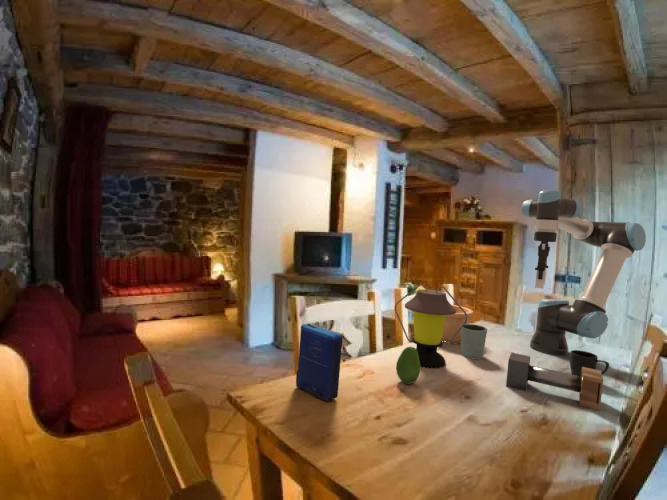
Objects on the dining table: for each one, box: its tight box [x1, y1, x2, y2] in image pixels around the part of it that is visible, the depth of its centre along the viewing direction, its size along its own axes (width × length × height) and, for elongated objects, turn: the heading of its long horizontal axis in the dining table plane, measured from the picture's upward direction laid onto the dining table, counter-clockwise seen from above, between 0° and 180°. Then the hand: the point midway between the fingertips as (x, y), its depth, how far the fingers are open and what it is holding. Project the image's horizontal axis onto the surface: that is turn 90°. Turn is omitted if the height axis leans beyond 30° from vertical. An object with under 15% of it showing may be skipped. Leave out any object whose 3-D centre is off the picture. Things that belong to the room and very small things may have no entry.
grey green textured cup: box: [460, 323, 488, 360], centre depth 158 cm, size 10×10×12 cm
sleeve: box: [505, 352, 531, 392], centre depth 130 cm, size 8×6×9 cm
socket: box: [578, 367, 604, 411], centre depth 120 cm, size 9×5×10 cm, turn 149°
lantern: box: [394, 282, 467, 369], centre depth 147 cm, size 25×19×30 cm
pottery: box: [441, 304, 474, 344], centre depth 181 cm, size 22×22×14 cm
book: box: [295, 323, 343, 402], centre depth 113 cm, size 14×5×20 cm, turn 49°
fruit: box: [395, 346, 421, 384], centre depth 126 cm, size 8×8×12 cm
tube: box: [527, 365, 583, 394], centre depth 125 cm, size 20×5×5 cm, turn 59°
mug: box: [569, 349, 610, 376], centre depth 137 cm, size 8×12×10 cm
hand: (540, 286), depth 148 cm, fingers open, 13 cm apart
